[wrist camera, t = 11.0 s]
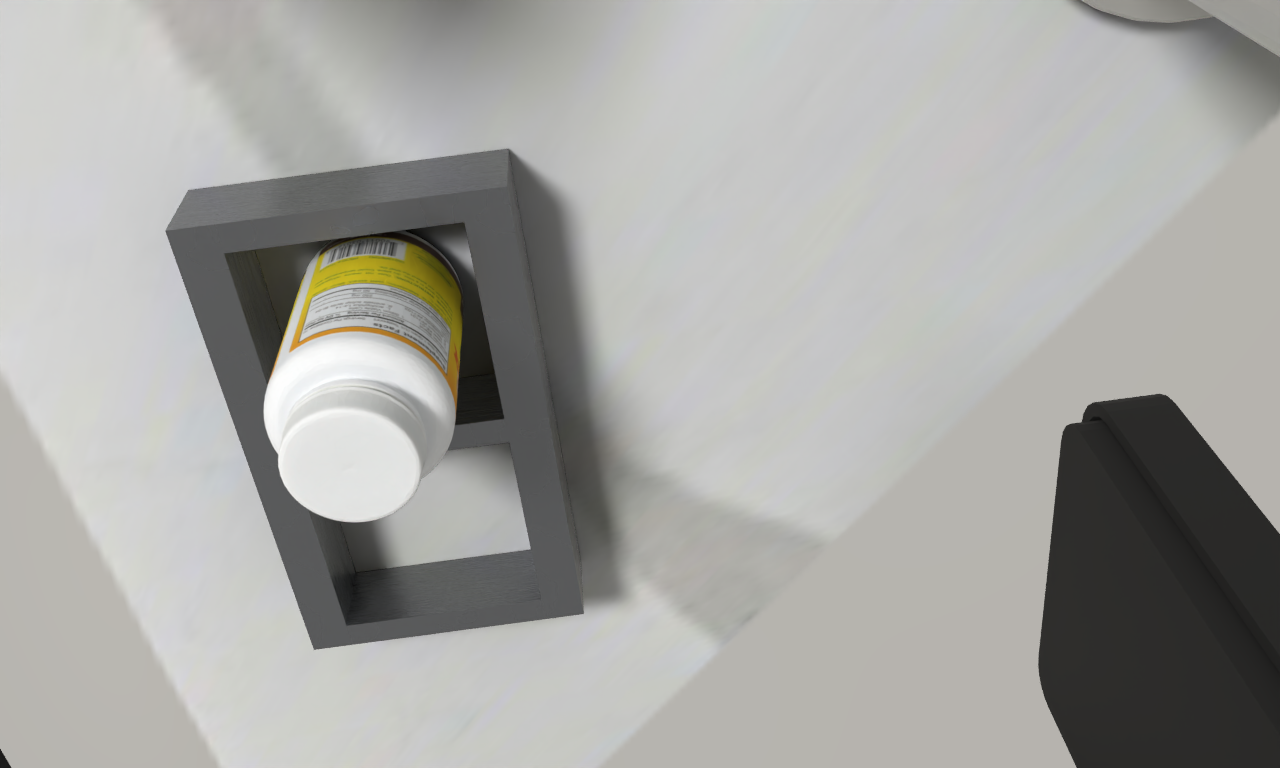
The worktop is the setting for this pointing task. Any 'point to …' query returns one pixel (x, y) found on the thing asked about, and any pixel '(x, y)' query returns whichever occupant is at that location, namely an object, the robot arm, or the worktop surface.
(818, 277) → the worktop surface
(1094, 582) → the robot arm
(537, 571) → the dark grey divided tray
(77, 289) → the worktop surface
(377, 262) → the supplement bottle
